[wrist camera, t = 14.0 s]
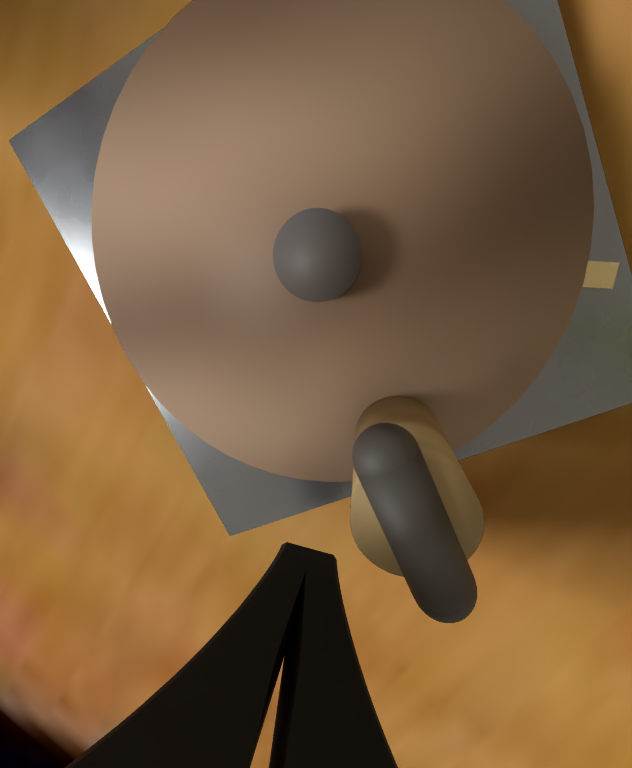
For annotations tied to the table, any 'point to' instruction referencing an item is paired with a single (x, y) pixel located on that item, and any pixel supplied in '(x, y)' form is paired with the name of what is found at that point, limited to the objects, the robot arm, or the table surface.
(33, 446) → the table surface
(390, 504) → the crank
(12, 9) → the table surface
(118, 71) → the crank base
